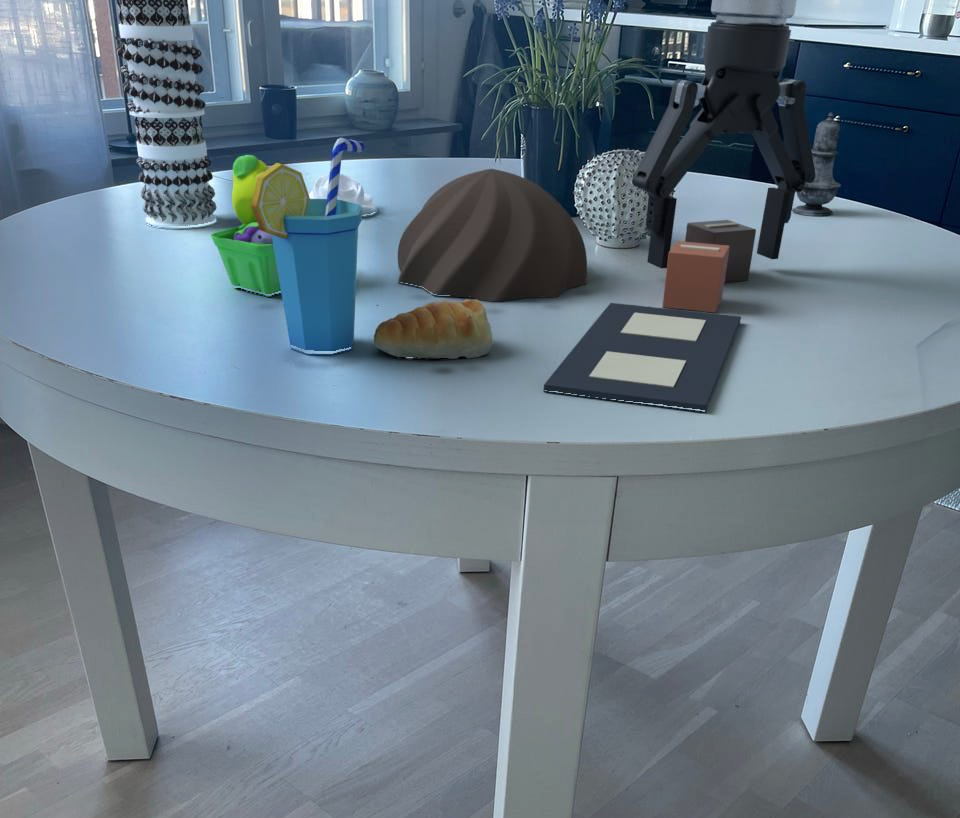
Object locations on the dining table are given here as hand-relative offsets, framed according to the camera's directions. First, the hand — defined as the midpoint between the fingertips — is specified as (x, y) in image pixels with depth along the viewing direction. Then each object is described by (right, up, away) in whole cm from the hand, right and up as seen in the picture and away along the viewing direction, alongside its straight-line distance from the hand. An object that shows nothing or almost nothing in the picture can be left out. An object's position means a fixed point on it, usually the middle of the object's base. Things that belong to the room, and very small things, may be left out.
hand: (713, 261), depth 105 cm
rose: (-42, +15, +25) cm, 51 cm away
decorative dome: (-23, -2, -1) cm, 23 cm away
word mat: (-10, -16, -21) cm, 28 cm away
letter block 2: (-4, -7, -8) cm, 11 cm away
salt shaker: (+20, +18, +31) cm, 41 cm away
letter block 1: (0, -1, +1) cm, 2 cm away
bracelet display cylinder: (-60, +11, +18) cm, 64 cm away
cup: (-37, -15, -20) cm, 45 cm away
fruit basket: (-44, -4, -5) cm, 44 cm away
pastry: (-27, -16, -21) cm, 38 cm away
